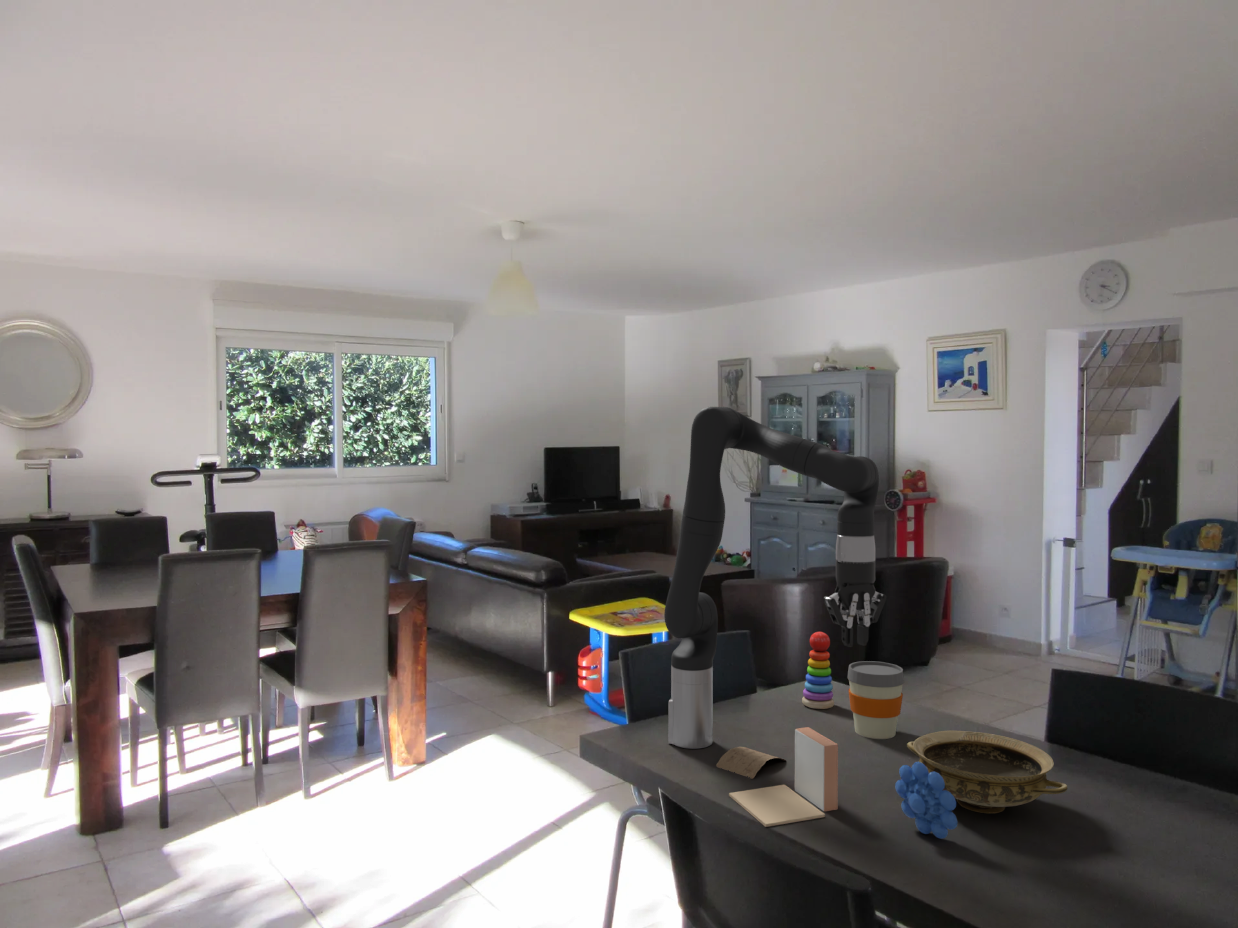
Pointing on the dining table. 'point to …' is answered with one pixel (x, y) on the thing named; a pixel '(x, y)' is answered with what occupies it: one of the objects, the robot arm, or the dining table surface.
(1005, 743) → the ceramic bowl
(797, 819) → the mat
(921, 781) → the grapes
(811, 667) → the stacking toy
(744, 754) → the curved bark piece
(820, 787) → the tile
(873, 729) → the reusable coffee cup
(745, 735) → the dining table surface
